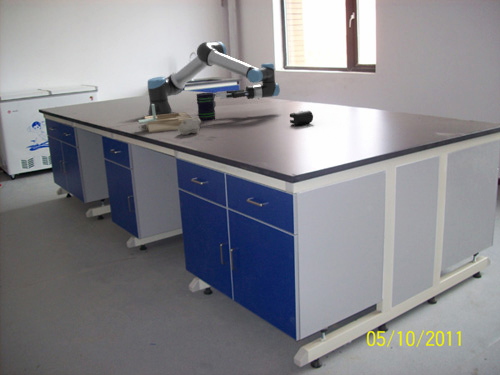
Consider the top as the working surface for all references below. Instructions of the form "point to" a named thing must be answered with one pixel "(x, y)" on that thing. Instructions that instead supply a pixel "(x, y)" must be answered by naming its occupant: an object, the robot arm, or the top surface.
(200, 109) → the dark blue barrel
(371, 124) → the top surface
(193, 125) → the fossil replica
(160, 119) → the puzzle board
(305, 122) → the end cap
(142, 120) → the cover
